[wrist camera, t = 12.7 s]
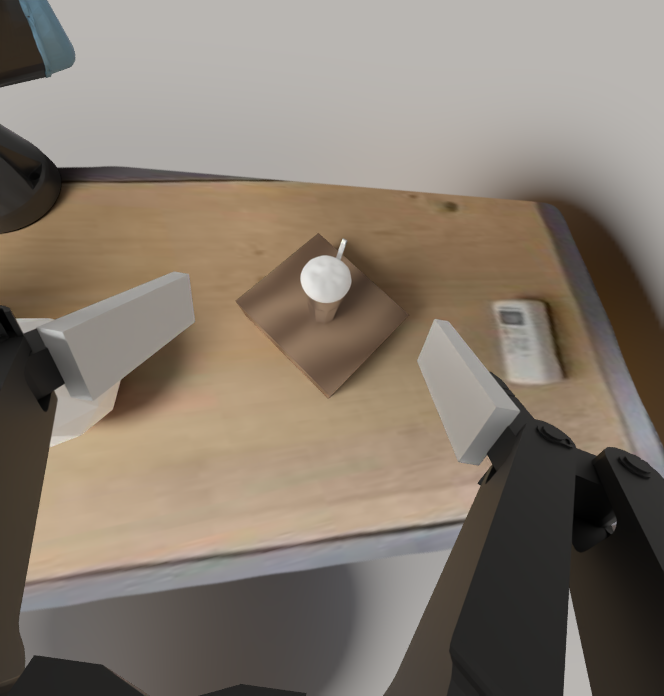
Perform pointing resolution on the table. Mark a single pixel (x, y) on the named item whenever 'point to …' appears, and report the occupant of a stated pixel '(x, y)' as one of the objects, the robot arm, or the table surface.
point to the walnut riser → (317, 338)
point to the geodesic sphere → (73, 402)
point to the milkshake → (325, 285)
